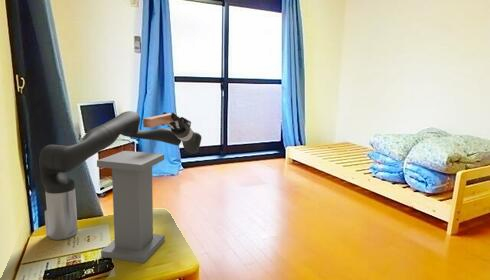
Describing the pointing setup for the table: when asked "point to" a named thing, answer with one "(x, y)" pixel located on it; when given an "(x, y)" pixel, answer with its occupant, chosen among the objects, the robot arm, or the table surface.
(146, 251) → the stand
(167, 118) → the bar
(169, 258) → the table surface
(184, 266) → the table surface
